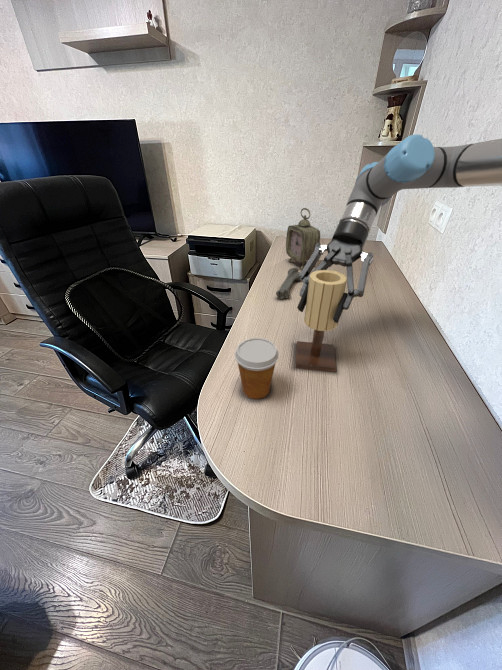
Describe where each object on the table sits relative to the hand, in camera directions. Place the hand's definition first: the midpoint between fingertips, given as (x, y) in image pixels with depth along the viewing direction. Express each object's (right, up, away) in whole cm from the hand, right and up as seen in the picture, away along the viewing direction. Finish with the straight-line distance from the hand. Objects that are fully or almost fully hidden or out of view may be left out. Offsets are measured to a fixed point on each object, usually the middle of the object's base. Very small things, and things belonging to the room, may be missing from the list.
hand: (317, 315), depth 64 cm
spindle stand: (+2, -11, +11) cm, 15 cm away
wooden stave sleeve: (+2, -1, +4) cm, 5 cm away
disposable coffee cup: (-14, -18, +2) cm, 23 cm away
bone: (0, +14, +46) cm, 48 cm away
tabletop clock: (+8, +29, +67) cm, 74 cm away
